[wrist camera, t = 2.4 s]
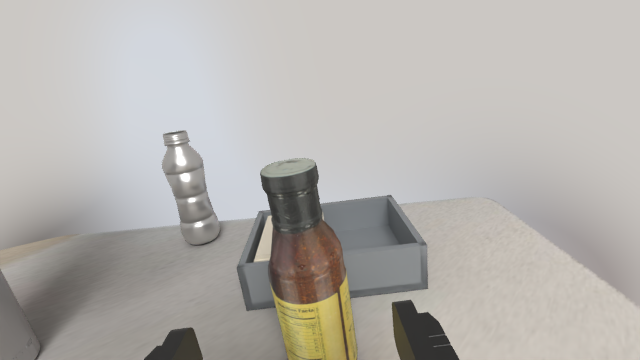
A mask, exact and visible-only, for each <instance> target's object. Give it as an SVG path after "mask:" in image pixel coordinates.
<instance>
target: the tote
mask: <svg viewBox="0 0 640 360" xmlns="http://www.w3.org/2000/svg"><path fill="white" fill-rule="evenodd" d="M320 206H321V208H322V212H323V216H324V221H325V222H326V223H327V224H328V225H329V226H330V227H331V228H332V229H333V230H334V232H335V234H336V236H337V238H338V239H339V241H340V243H341V247H342V251H343V260H344V265H345V267H346V272H347V279H348V286H349V294H350V298H355V297H363V296H372V295H380V294H388V293H396V292H405V291H413V290H421V289H428V270H427V244H426V243H425V241H424V240H423V239H422V237H421V236H420V234H419V233H418V232H417V230H416V229H415V227H414V226H413V225H412V223H411V222H410V221H409V219H408V218H407V216H406V215H405V214H404V212H403V211H402V209H401V208H400V207H399V205H398V204H397V202H396V201H395V200H394V198H393V197H392V196H391V195H388V196H381V197H371V198H365V199H364V198H363V199H355V200H347V201H340V202H331V203H323V204H320ZM268 216H272V215H271V210H266V211H259V213H258V215H257V218H256V220H255V223H254V226H253V228H252V231H251V233H250V236H249V238H248V241H247V243H246V246H245V249H244V251H243V254H242V256H241V259H240V261H239V264H238V267H237V272H238V276H239V280H240V284H241V288H242V292H243V297H244V301H245V305H246V309H247V311H248V310H257V309H265V308H273V307H276V306H275V302H274V298H273V294H272V290H271V286H270V281H269V277H268V264H269V261H263V262H255V263H254V259H255V256H256V253H257V249H258V246H259V243H260V240H261V237H262V233H263V230H264V227H265V224H266V220H267V218H268Z"/></svg>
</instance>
